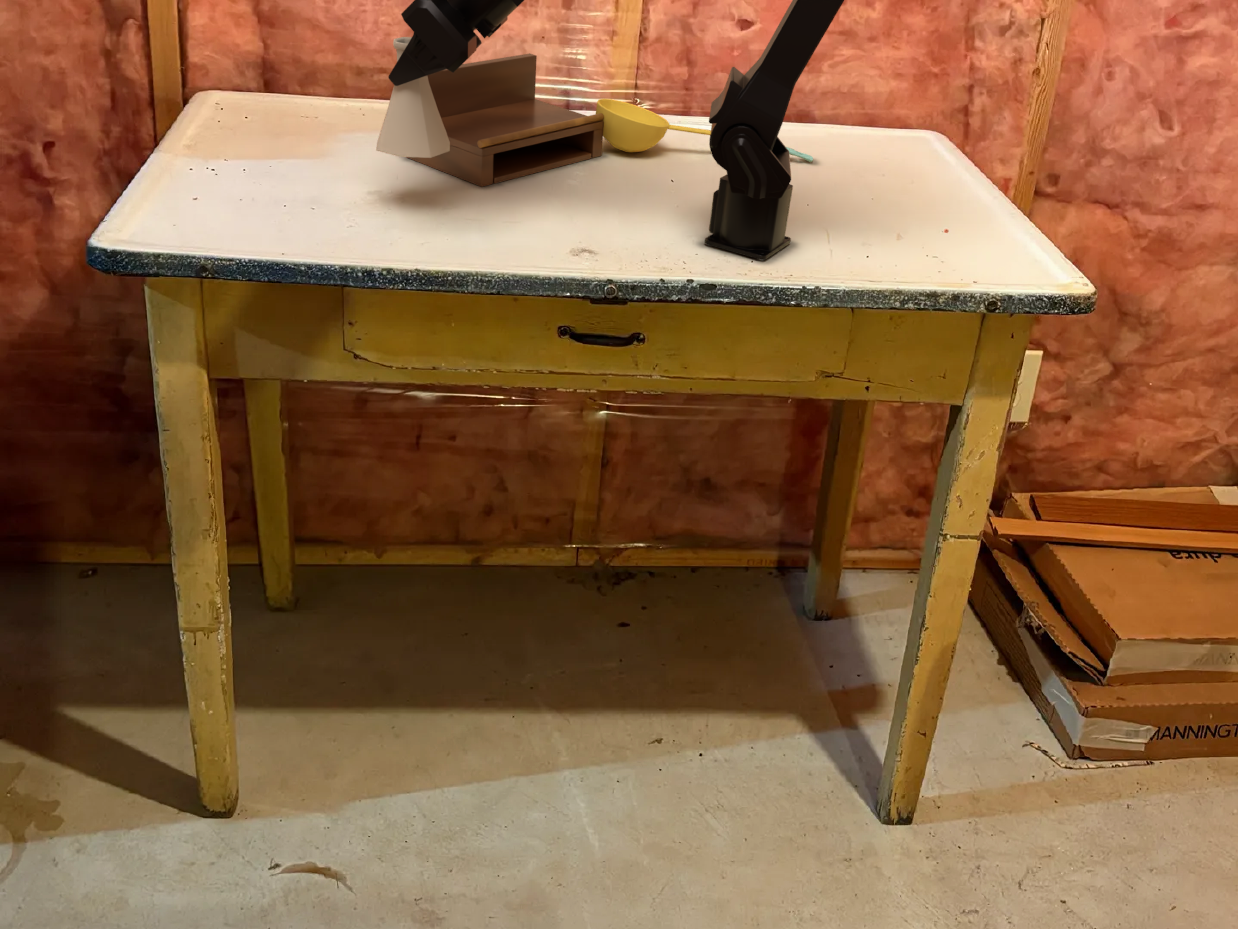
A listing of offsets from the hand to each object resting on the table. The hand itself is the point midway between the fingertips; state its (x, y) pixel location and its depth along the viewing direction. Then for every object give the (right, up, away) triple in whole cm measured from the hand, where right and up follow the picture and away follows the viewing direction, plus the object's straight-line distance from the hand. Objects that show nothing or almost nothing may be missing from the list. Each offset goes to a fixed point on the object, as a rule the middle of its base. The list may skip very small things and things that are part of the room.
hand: (397, 77), depth 106 cm
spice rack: (+8, -2, +22) cm, 24 cm away
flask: (+1, -6, +3) cm, 7 cm away
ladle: (+31, 0, +29) cm, 42 cm away
